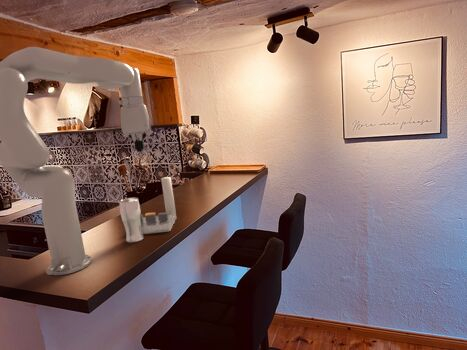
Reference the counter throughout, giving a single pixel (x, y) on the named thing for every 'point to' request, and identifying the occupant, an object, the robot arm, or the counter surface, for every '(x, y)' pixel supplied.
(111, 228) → the counter surface
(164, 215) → the grey rectangular box
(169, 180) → the post
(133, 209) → the beer glass
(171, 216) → the breaker panel
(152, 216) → the paddle mid
